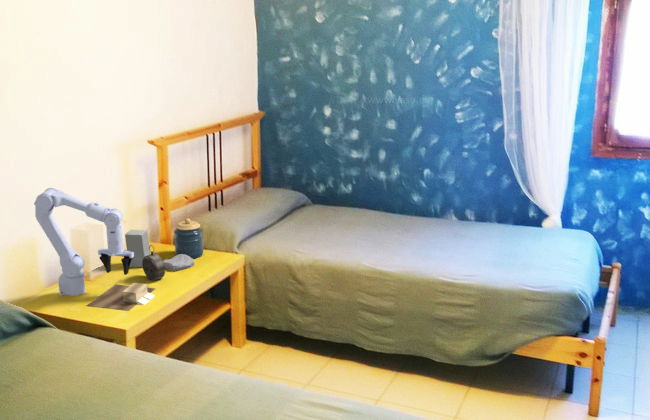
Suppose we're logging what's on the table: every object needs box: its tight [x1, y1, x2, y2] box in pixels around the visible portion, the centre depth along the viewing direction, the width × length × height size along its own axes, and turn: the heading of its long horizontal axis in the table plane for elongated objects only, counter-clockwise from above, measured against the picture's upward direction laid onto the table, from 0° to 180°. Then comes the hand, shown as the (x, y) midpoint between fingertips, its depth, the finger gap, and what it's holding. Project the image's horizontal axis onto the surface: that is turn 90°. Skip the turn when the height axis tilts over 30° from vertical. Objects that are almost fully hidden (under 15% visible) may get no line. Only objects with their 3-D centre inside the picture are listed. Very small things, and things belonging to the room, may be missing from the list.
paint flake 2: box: [143, 292, 156, 301], centre depth 271 cm, size 4×4×1 cm
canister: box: [173, 217, 204, 260], centre depth 320 cm, size 13×13×18 cm
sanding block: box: [123, 282, 148, 305], centre depth 269 cm, size 6×9×4 cm, turn 167°
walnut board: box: [85, 283, 156, 312], centre depth 272 cm, size 18×22×2 cm
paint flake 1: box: [137, 297, 150, 306], centre depth 267 cm, size 4×4×1 cm
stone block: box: [163, 254, 195, 272], centre depth 307 cm, size 12×5×10 cm
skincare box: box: [124, 229, 151, 268], centre depth 307 cm, size 8×7×16 cm
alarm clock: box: [141, 244, 166, 281], centre depth 288 cm, size 11×5×16 cm, turn 47°
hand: (117, 272), depth 275 cm, fingers open, 7 cm apart
